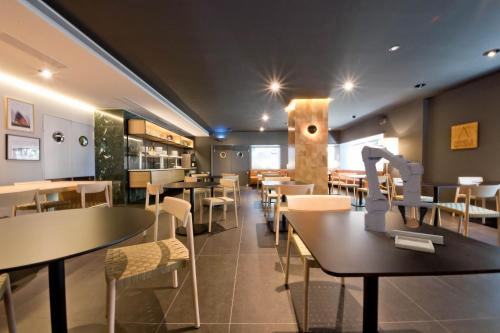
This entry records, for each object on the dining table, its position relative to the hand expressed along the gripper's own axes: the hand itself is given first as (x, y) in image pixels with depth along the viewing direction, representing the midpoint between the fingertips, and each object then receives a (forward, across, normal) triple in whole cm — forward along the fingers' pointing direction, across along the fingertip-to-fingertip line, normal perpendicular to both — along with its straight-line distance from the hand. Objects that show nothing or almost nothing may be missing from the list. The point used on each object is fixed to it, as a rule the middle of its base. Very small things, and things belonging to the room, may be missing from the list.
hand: (412, 224), depth 85 cm
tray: (+8, 0, 0) cm, 8 cm away
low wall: (+8, +1, +8) cm, 12 cm away
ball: (-1, 0, 0) cm, 1 cm away
